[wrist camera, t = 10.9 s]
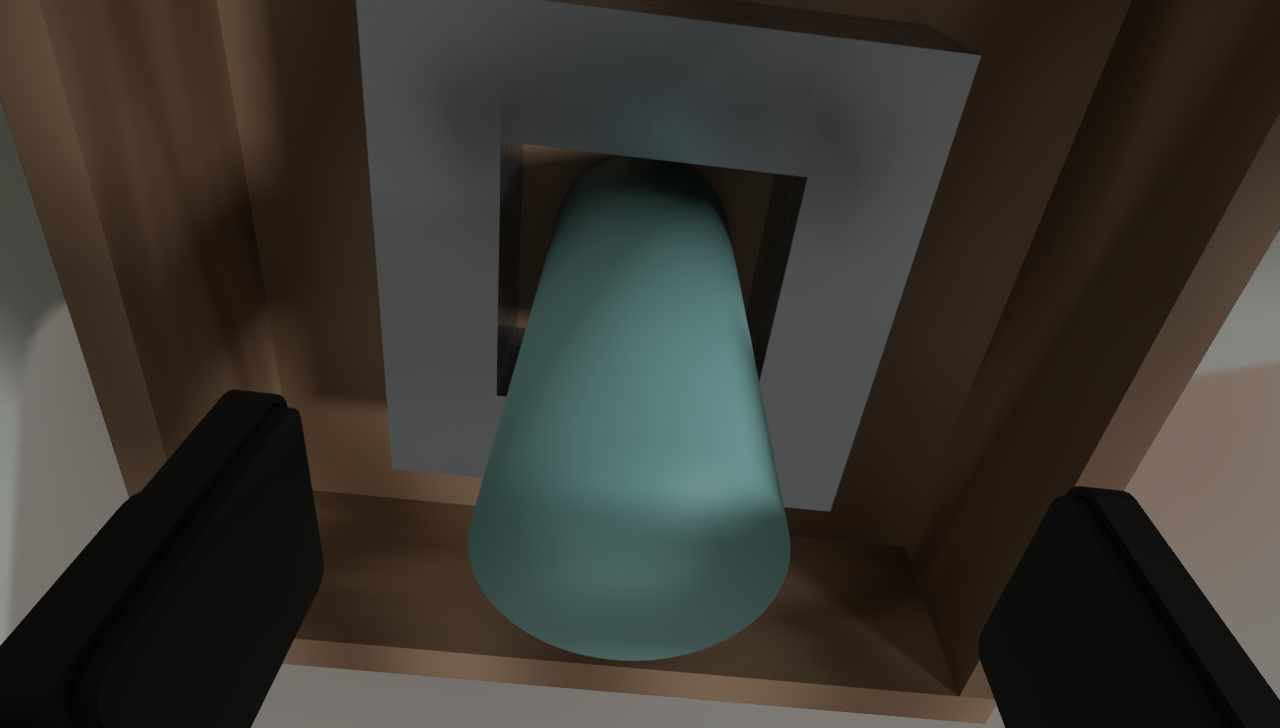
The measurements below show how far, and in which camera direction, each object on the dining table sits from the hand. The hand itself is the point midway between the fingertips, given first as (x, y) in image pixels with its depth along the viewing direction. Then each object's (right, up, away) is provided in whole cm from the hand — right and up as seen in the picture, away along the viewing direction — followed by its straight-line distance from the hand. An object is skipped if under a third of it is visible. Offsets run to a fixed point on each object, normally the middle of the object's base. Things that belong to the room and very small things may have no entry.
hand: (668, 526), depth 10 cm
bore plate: (0, +6, +9) cm, 11 cm away
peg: (0, +5, +8) cm, 10 cm away
